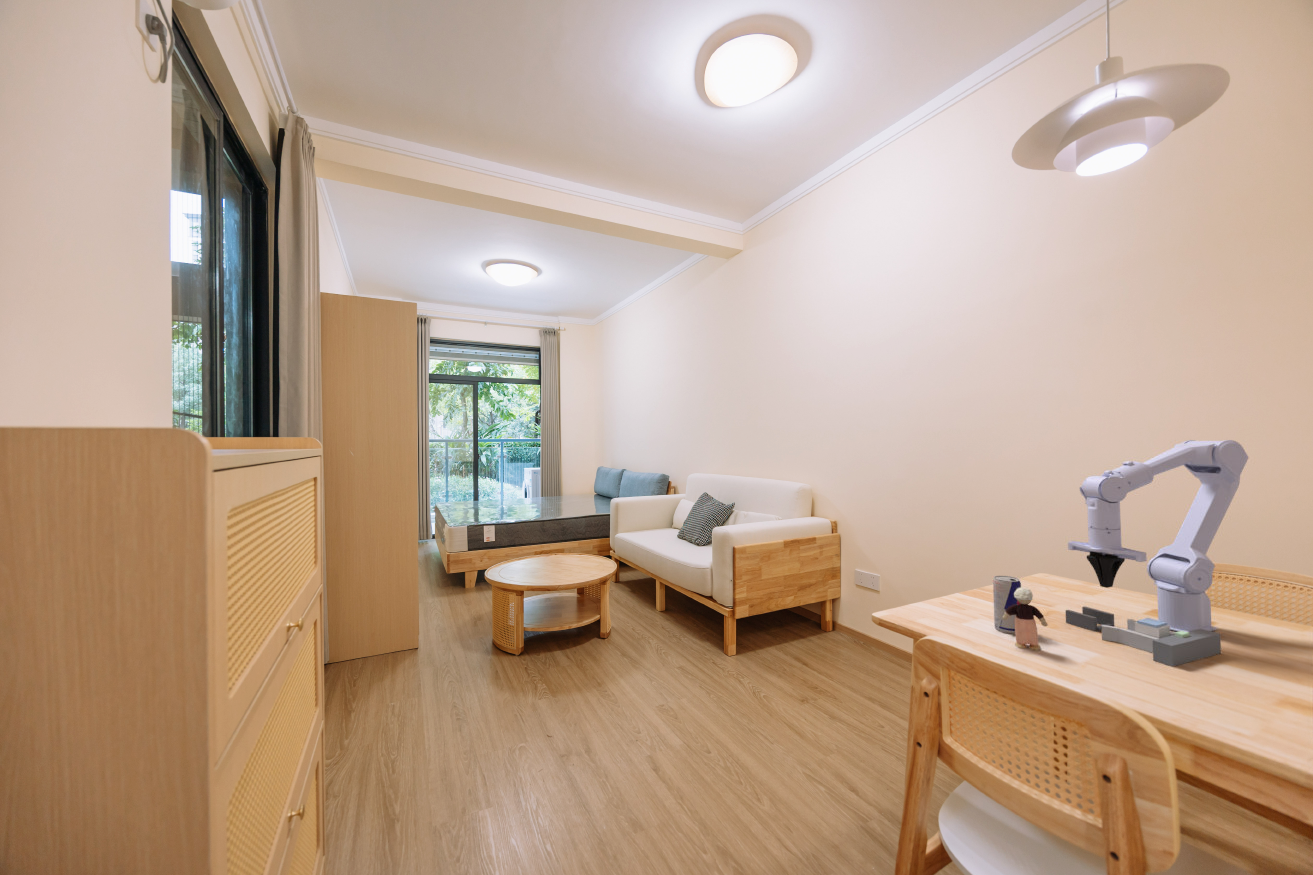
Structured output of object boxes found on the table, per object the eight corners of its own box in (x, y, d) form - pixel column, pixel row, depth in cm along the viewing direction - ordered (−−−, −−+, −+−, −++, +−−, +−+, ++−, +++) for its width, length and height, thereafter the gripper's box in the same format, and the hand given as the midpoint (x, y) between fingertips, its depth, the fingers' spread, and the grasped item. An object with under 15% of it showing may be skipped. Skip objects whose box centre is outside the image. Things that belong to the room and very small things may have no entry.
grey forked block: (1137, 629, 116) (1136, 609, 116) (1221, 653, 103) (1220, 630, 103) (1091, 640, 111) (1090, 619, 111) (1172, 666, 98) (1171, 642, 98)
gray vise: (1100, 614, 126) (1099, 602, 126) (1132, 623, 120) (1131, 610, 120) (1064, 622, 122) (1064, 609, 122) (1095, 631, 116) (1095, 618, 116)
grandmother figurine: (1042, 645, 109) (1040, 586, 109) (1050, 652, 106) (1048, 591, 106) (1001, 641, 112) (999, 583, 112) (1006, 648, 108) (1004, 588, 108)
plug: (1146, 642, 109) (1145, 617, 109) (1170, 649, 106) (1169, 623, 106) (1135, 645, 108) (1134, 619, 108) (1159, 652, 104) (1158, 626, 104)
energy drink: (1027, 634, 115) (1025, 581, 115) (1000, 633, 116) (999, 581, 116) (1015, 626, 120) (1013, 575, 120) (990, 625, 121) (988, 575, 121)
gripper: (1058, 524, 123) (1060, 580, 123) (1131, 534, 109) (1133, 597, 109) (1078, 522, 125) (1080, 577, 125) (1151, 531, 112) (1153, 593, 112)
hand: (1106, 586), depth 117 cm, fingers closed
